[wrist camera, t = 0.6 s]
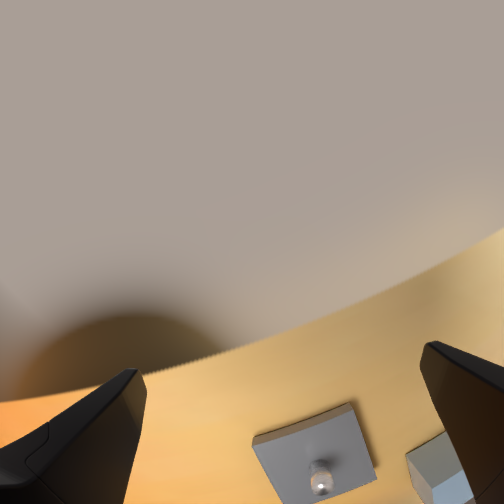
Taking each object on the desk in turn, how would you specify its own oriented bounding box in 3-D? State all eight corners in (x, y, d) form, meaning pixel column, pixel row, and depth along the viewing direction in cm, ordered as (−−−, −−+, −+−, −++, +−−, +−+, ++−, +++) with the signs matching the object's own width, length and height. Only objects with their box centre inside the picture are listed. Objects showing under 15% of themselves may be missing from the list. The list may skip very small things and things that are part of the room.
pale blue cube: (456, 461, 19) (484, 488, 13) (413, 487, 19) (435, 520, 13) (451, 427, 19) (485, 453, 13) (405, 454, 19) (431, 488, 13)
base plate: (372, 470, 19) (387, 498, 15) (286, 501, 20) (287, 532, 15) (349, 402, 20) (363, 426, 16) (253, 437, 21) (248, 466, 16)
